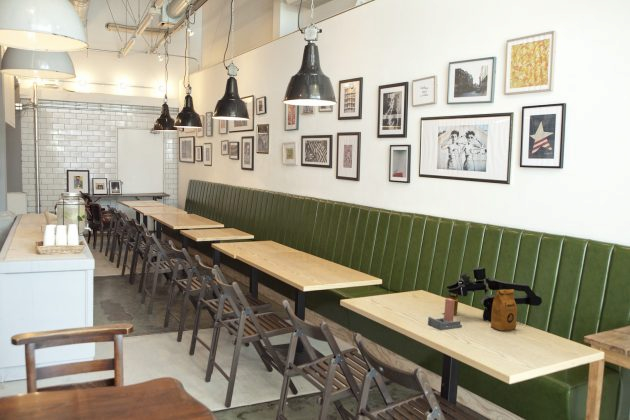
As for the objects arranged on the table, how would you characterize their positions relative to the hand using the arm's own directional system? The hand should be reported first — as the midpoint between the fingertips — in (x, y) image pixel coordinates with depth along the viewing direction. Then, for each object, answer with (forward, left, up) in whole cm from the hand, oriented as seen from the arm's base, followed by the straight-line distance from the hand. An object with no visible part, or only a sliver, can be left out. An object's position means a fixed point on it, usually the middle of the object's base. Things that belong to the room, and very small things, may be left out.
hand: (447, 289), depth 309 cm
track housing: (-2, +20, -16) cm, 26 cm away
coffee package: (-32, +8, -16) cm, 37 cm away
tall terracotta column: (-4, +18, -15) cm, 24 cm away
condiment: (-2, -6, -16) cm, 17 cm away
